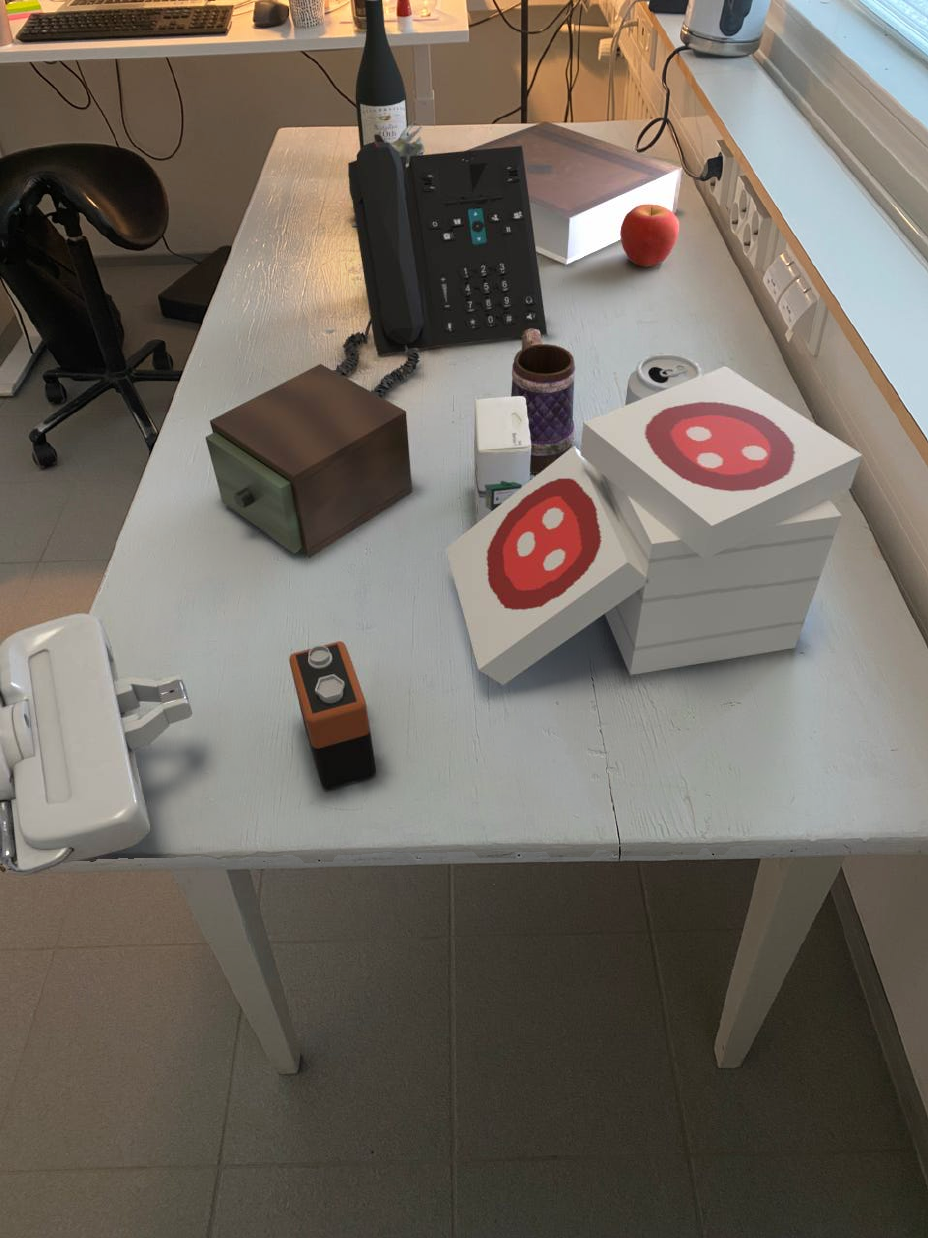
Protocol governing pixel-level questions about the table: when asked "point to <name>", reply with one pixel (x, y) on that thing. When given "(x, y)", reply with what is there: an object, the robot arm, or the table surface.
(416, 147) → the toy dinosaur
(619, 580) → the pizza boxes
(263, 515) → the drawer
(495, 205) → the office phone
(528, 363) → the mug
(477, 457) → the ink box
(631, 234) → the apple
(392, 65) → the wine bottle
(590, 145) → the book
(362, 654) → the table surface
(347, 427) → the cabinet
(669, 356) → the can
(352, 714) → the battery
